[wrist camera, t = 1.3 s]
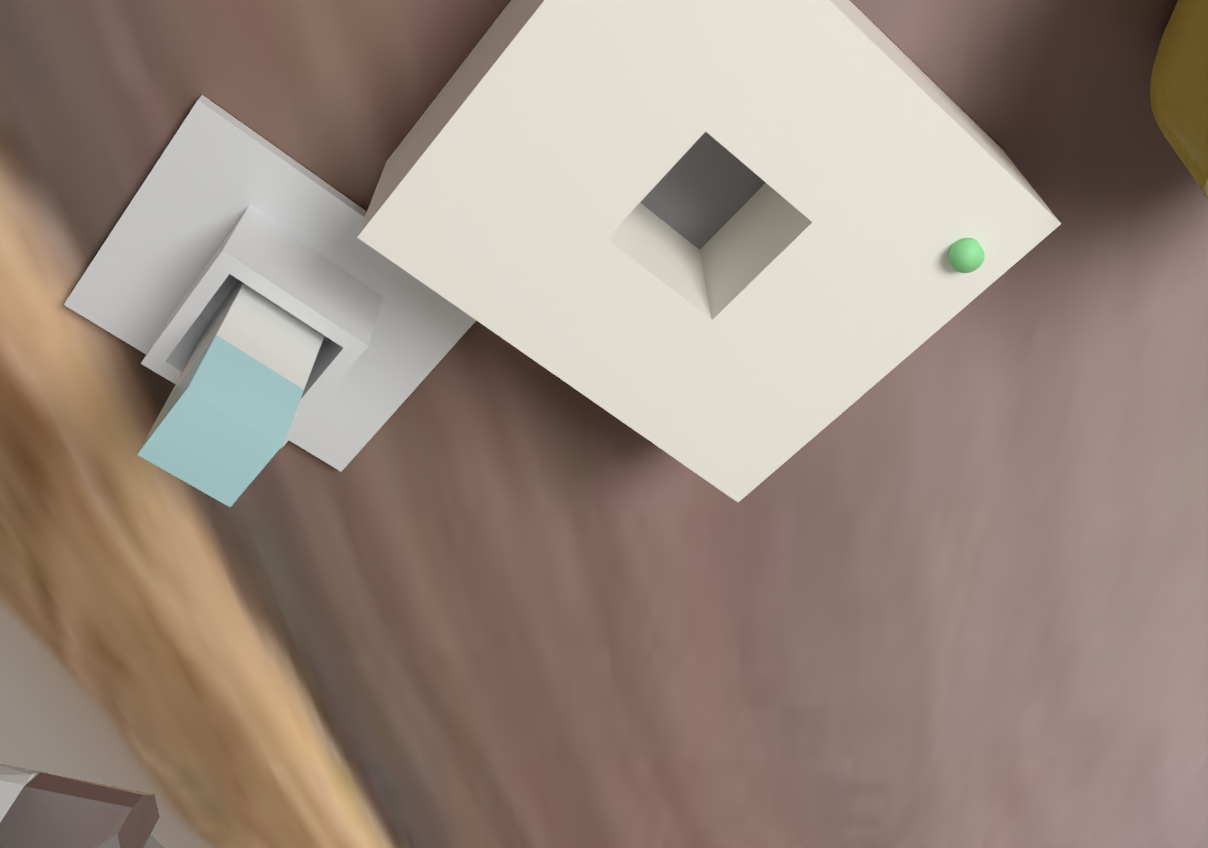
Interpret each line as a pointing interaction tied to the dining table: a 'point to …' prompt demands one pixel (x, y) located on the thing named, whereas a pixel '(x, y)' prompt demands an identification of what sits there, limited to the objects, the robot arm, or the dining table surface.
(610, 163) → the port
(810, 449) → the dining table surface
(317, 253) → the holster
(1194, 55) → the flower pot
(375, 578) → the dining table surface
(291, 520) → the dining table surface
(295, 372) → the plug
